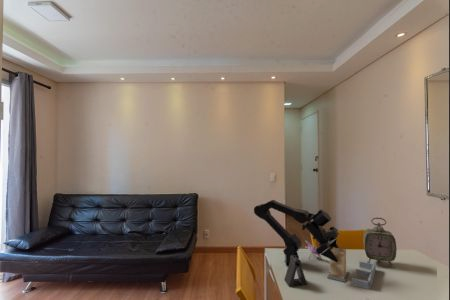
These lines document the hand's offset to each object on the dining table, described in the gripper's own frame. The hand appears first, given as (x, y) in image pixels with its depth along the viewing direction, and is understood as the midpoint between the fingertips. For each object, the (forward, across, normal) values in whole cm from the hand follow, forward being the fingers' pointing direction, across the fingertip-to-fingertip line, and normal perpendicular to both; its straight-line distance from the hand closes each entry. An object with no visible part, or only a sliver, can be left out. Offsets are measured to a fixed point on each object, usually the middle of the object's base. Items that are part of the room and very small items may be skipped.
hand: (339, 258), depth 129 cm
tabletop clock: (+16, +26, -4) cm, 31 cm away
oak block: (+5, 0, +6) cm, 8 cm away
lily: (-5, +14, +18) cm, 24 cm away
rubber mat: (+6, 0, +7) cm, 9 cm away
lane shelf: (+13, +5, -1) cm, 14 cm away
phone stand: (-5, -18, +17) cm, 26 cm away
